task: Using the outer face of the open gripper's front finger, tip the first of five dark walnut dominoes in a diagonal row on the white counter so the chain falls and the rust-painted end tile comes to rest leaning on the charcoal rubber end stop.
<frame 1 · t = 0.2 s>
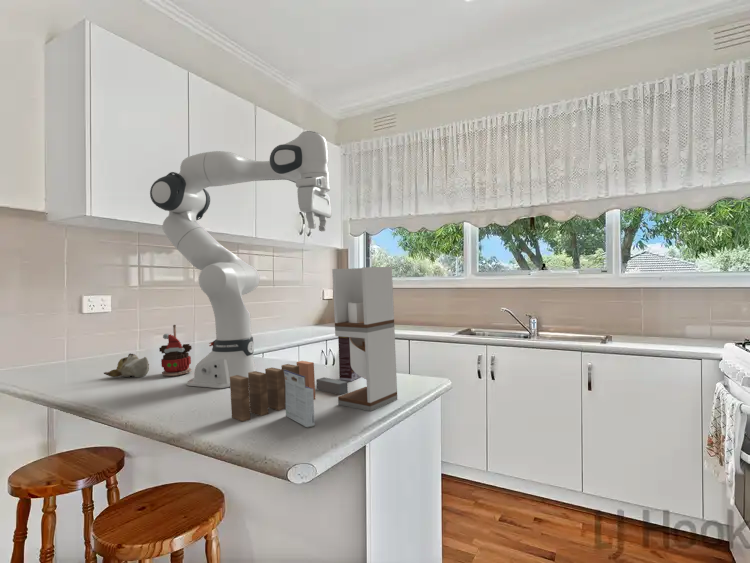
hand: (317, 229, 137), 48 cm above the counter, fingers open, 8 cm apart
end domino: (306, 398, 121), on the counter
domino 2: (259, 413, 110), on the counter
santa mouse candy apple: (176, 374, 160), on the counter
end stop: (331, 390, 127), on the counter
ink box: (300, 422, 102), on the counter
white tower: (368, 402, 115), on the counter
domino 1: (241, 418, 106), on the counter
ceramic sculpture: (130, 377, 159), on the counter
domino 3: (276, 408, 113), on the counter
supplement box: (352, 378, 142), on the counter
domino 4: (291, 403, 117), on the counter
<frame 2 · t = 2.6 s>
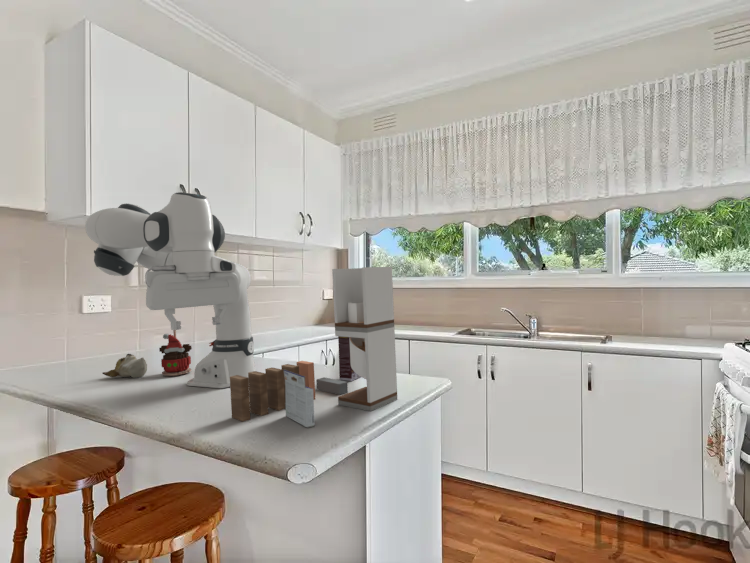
hand: (197, 327, 98), 23 cm above the counter, fingers open, 8 cm apart
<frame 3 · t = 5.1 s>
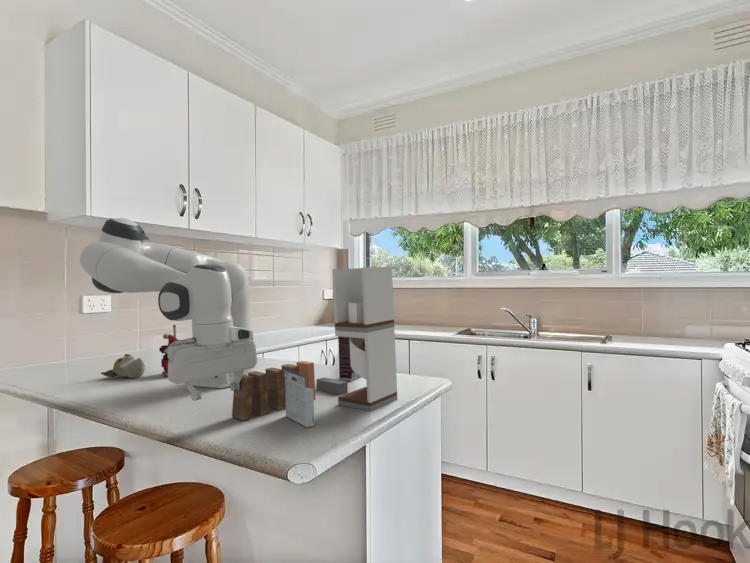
hand: (216, 394, 101), 7 cm above the counter, fingers open, 8 cm apart
domino 1: (241, 418, 106), on the counter, tilted 8°
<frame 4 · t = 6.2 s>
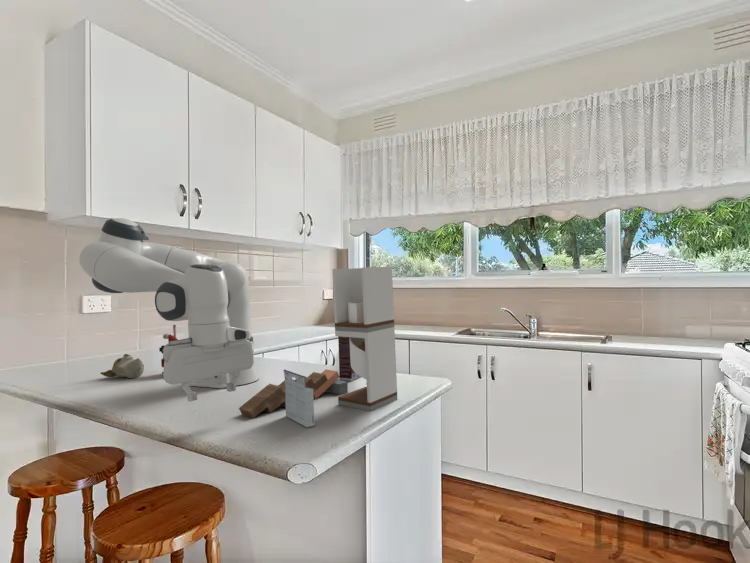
hand: (212, 395, 101), 7 cm above the counter, fingers open, 8 cm apart
end domino: (308, 394, 121), point 1 cm above the counter, tilted 65°, touching domino 4, end stop
domino 2: (263, 408, 110), point 1 cm above the counter, tilted 66°, touching domino 1, domino 3
domino 1: (245, 413, 107), point 1 cm above the counter, tilted 66°, touching domino 2
domino 3: (280, 403, 114), point 1 cm above the counter, tilted 65°, touching domino 2, domino 4
domino 4: (295, 398, 118), point 1 cm above the counter, tilted 65°, touching domino 3, end domino
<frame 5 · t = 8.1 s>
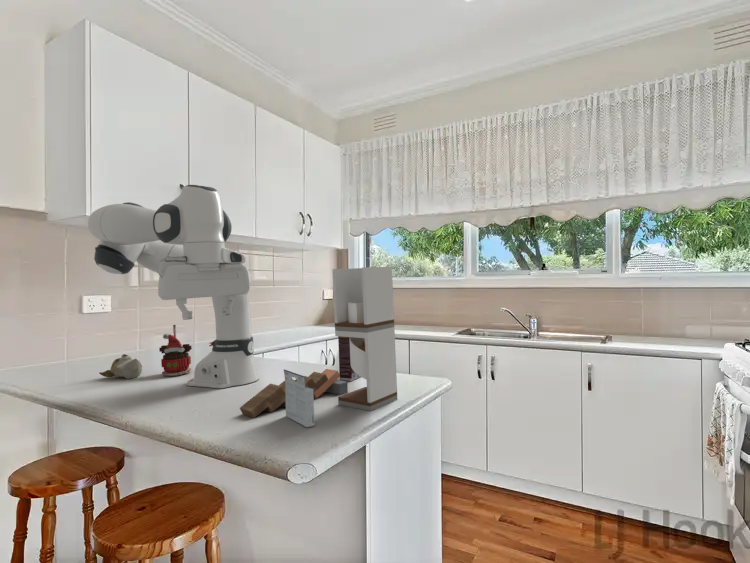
hand: (207, 317, 100), 25 cm above the counter, fingers open, 8 cm apart
domino 4: (295, 398, 118), point 1 cm above the counter, tilted 64°, touching domino 3, end domino
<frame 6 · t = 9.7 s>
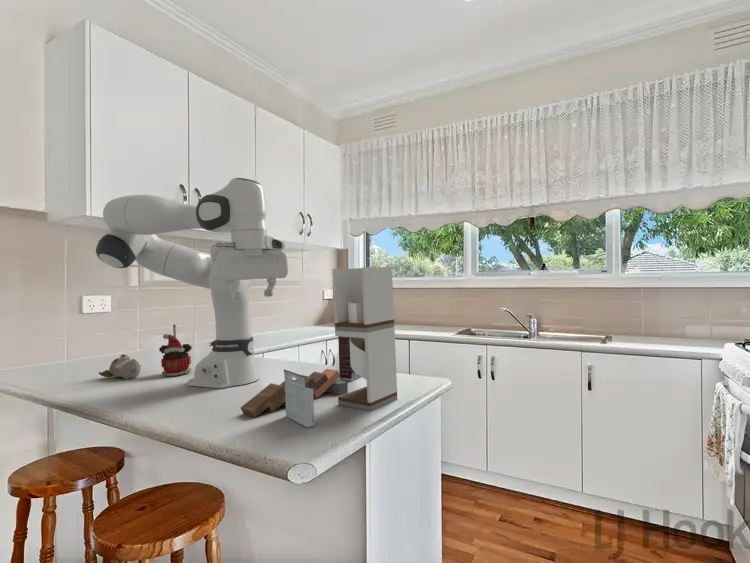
hand: (252, 297, 111), 29 cm above the counter, fingers open, 8 cm apart
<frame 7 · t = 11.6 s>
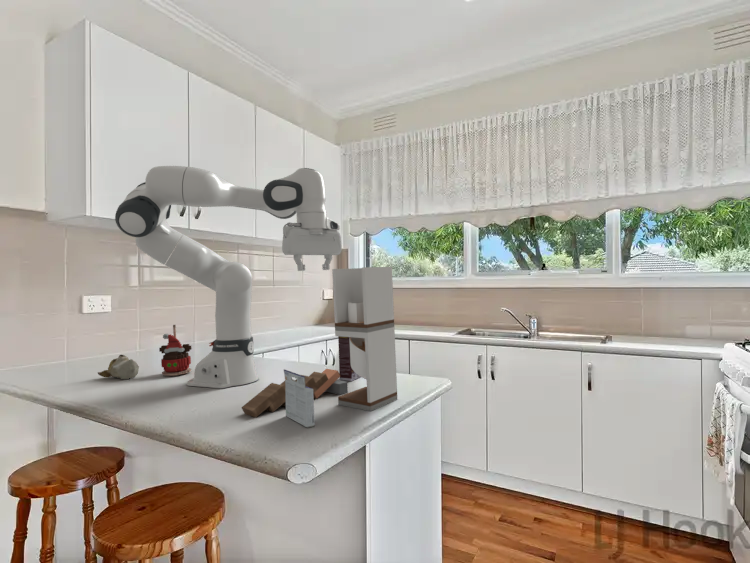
hand: (314, 270, 131), 35 cm above the counter, fingers open, 8 cm apart
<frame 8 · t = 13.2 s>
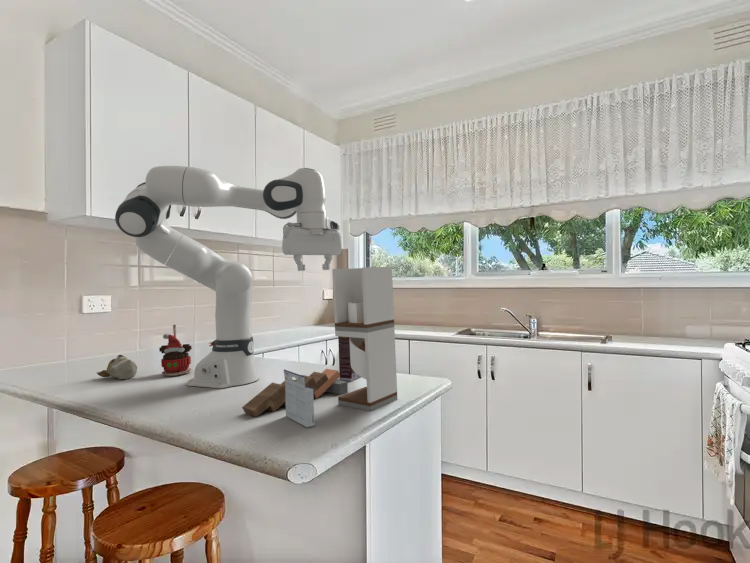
hand: (314, 270, 131), 35 cm above the counter, fingers open, 8 cm apart
at the end: end domino tilted 64°; domino 3 tilted 64° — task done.
